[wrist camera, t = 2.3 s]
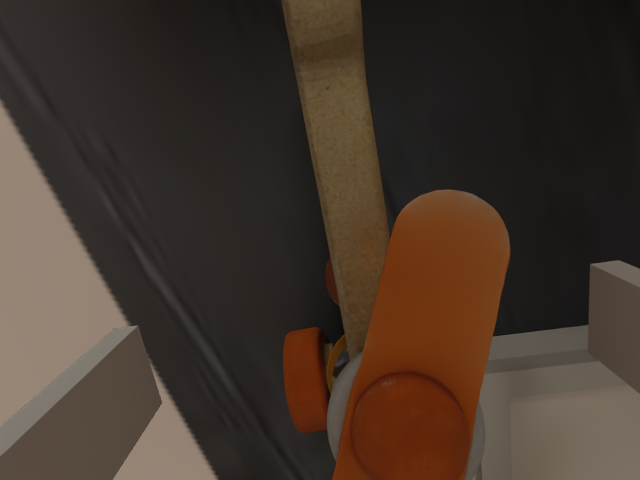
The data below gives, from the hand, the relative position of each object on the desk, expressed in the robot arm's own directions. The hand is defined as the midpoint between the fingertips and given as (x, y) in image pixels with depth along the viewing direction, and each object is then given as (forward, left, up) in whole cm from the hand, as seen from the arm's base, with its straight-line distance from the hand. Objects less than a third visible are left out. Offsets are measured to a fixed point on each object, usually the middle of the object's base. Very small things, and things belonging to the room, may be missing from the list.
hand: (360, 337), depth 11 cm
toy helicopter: (0, 0, -9) cm, 9 cm away
